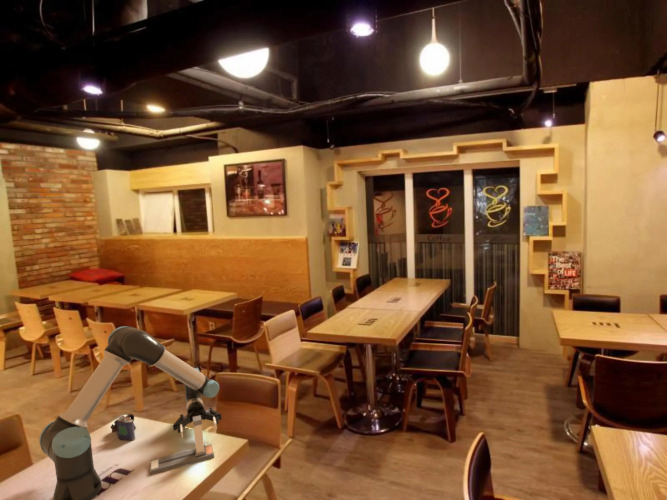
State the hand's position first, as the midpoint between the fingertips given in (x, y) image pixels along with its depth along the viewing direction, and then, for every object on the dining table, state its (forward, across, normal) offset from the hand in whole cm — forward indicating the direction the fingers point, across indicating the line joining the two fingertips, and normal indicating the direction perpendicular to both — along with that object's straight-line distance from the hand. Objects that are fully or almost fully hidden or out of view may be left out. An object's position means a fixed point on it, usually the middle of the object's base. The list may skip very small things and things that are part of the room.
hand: (199, 430), depth 175 cm
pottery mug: (-37, +32, -10) cm, 50 cm away
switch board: (+2, +8, -10) cm, 13 cm away
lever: (+2, 0, -8) cm, 8 cm away
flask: (-28, +31, -10) cm, 43 cm away
